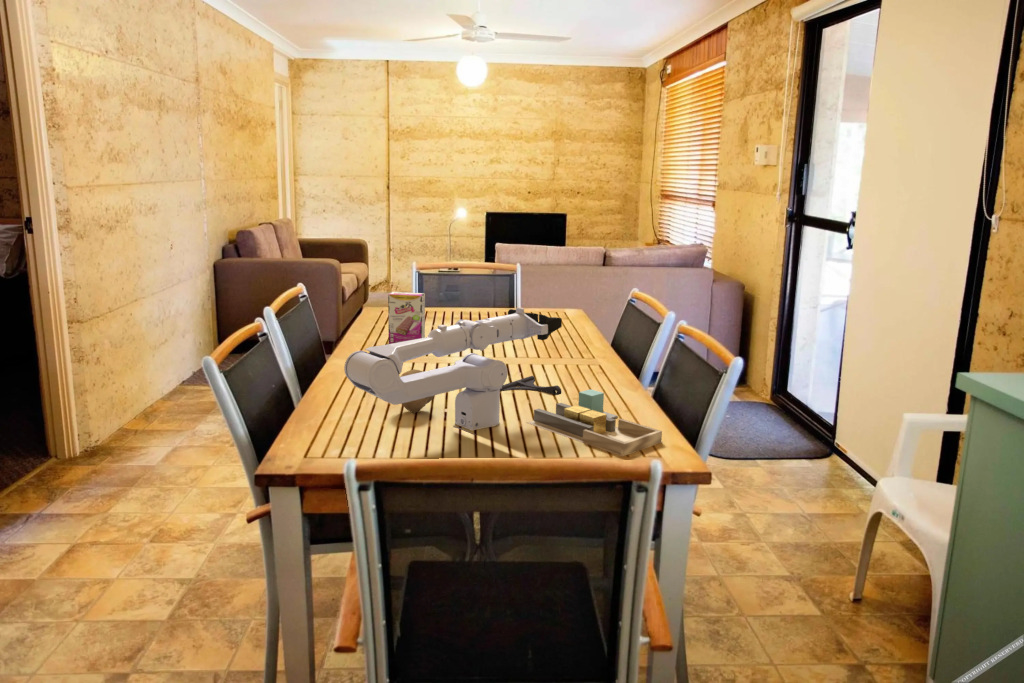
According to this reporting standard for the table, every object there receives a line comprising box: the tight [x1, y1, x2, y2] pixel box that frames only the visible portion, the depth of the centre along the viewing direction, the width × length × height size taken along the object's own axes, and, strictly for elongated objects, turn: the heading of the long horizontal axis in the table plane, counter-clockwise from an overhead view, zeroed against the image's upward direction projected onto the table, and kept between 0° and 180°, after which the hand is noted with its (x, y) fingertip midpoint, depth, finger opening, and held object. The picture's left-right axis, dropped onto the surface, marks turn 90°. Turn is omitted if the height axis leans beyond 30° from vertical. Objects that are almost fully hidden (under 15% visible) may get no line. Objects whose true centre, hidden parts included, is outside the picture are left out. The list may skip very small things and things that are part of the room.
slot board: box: [526, 402, 663, 457], centre depth 164 cm, size 13×27×4 cm, turn 43°
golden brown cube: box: [564, 404, 591, 421], centre depth 167 cm, size 4×4×4 cm
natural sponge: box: [399, 368, 436, 414], centre depth 178 cm, size 9×9×10 cm
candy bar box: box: [387, 291, 426, 344], centre depth 249 cm, size 11×5×16 cm, turn 84°
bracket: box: [500, 375, 562, 396], centre depth 200 cm, size 14×15×3 cm
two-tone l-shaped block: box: [577, 389, 618, 420], centre depth 175 cm, size 5×8×6 cm, turn 43°
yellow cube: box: [579, 410, 607, 434], centre depth 164 cm, size 4×4×4 cm
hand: (548, 320), depth 178 cm, fingers open, 7 cm apart
